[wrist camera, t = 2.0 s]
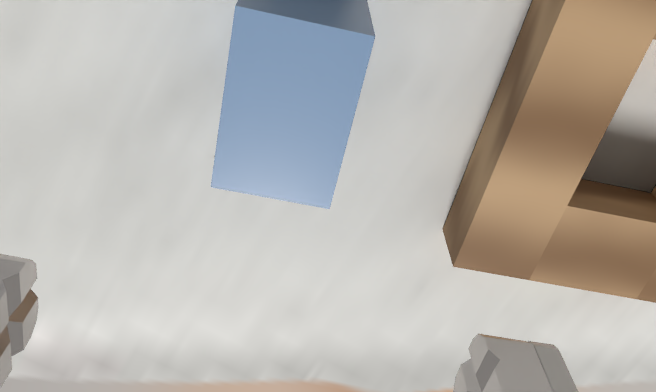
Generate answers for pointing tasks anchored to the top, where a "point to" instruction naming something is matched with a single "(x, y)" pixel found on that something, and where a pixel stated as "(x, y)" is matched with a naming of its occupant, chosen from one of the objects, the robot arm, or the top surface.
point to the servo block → (291, 97)
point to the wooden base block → (559, 157)
